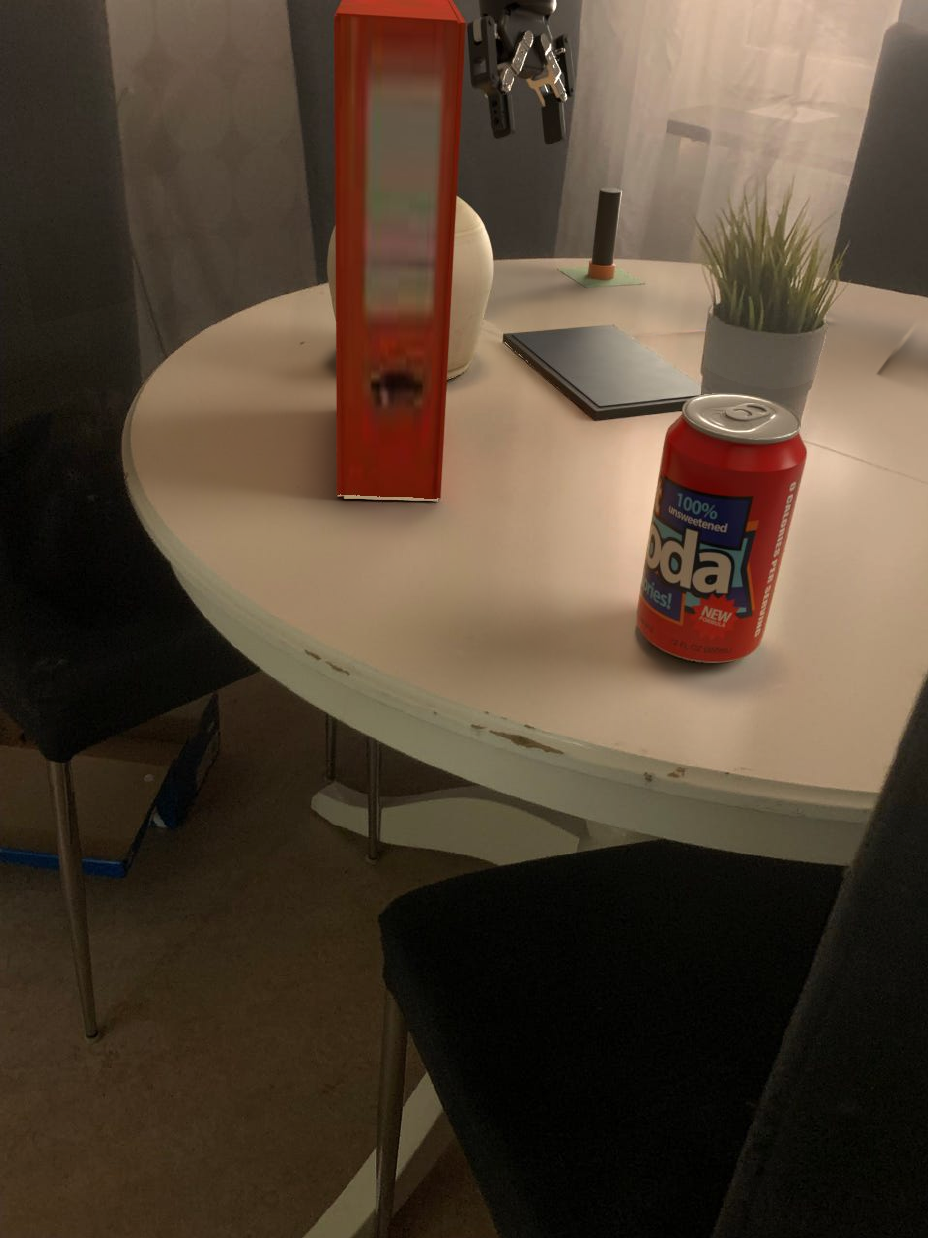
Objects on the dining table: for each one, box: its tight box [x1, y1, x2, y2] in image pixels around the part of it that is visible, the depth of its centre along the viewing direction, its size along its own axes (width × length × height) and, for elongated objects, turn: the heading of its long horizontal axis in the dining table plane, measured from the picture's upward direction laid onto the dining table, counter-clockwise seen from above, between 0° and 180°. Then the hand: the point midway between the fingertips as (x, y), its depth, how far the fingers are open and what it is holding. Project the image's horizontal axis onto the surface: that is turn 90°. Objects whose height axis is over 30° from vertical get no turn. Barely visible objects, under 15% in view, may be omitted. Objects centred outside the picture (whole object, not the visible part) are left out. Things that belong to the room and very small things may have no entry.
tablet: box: [502, 324, 702, 421], centre depth 106 cm, size 13×21×1 cm, turn 21°
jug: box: [326, 195, 494, 379], centre depth 99 cm, size 15×16×25 cm
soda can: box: [636, 392, 808, 664], centre depth 64 cm, size 8×8×15 cm
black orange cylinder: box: [587, 187, 623, 280], centre depth 129 cm, size 3×3×10 cm
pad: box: [557, 265, 646, 289], centre depth 132 cm, size 8×8×1 cm
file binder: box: [333, 0, 467, 499], centre depth 79 cm, size 8×17×32 cm, turn 3°
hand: (530, 140), depth 109 cm, fingers open, 8 cm apart
